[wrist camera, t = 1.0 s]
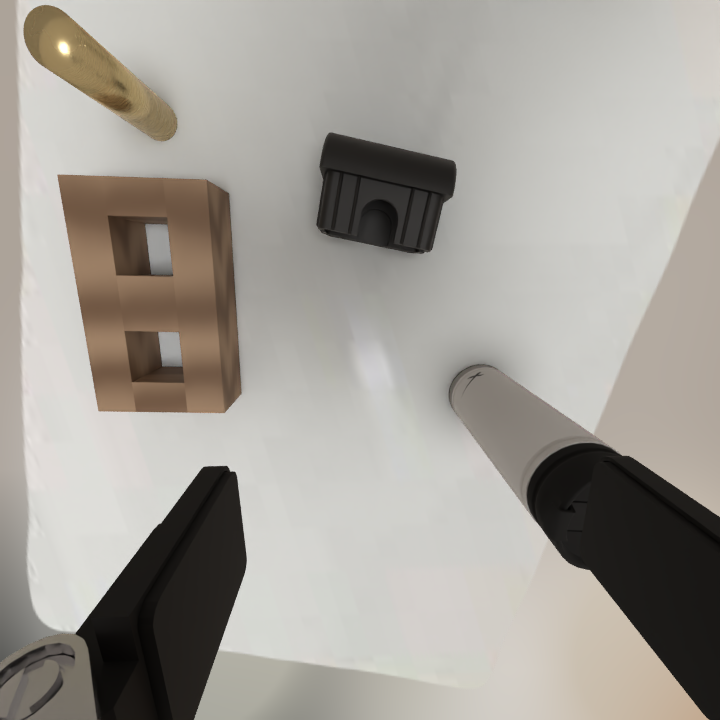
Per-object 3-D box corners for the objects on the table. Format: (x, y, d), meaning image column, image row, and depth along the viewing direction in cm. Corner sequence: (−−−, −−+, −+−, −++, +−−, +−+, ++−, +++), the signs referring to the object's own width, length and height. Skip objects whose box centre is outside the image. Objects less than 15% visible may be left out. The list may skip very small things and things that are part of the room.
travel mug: (450, 361, 36) (567, 470, 16) (513, 366, 36) (700, 479, 17) (441, 417, 37) (538, 577, 18) (501, 422, 38) (661, 584, 18)
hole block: (103, 189, 31) (57, 174, 26) (228, 193, 31) (206, 179, 26) (132, 391, 36) (98, 411, 31) (241, 393, 36) (224, 412, 31)
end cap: (441, 174, 31) (464, 150, 25) (422, 255, 33) (440, 252, 27) (331, 149, 31) (326, 117, 24) (318, 233, 32) (310, 224, 26)
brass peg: (138, 100, 29) (18, 3, 19) (175, 101, 29) (75, 6, 19) (143, 140, 30) (29, 69, 19) (178, 141, 30) (85, 72, 20)
